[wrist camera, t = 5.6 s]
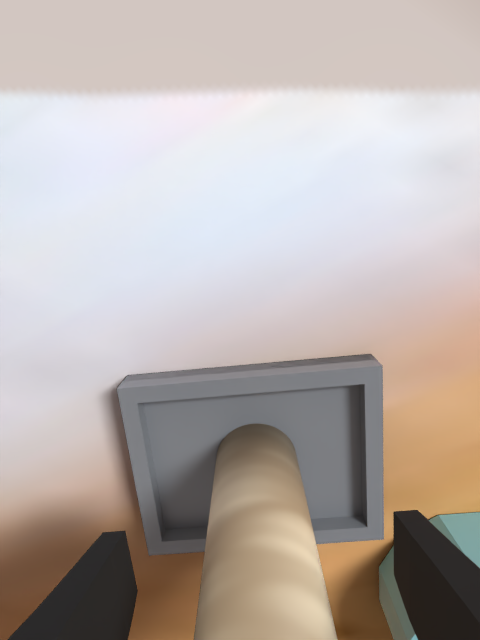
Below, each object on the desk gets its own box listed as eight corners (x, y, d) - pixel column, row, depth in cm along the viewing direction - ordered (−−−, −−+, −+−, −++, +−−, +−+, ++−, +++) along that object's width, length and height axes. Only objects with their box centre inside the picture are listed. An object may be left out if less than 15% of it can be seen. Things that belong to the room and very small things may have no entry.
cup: (543, 507, 15) (614, 574, 12) (529, 633, 17) (589, 718, 14) (378, 519, 15) (409, 587, 12) (379, 641, 17) (407, 727, 14)
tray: (370, 353, 14) (382, 365, 13) (373, 515, 15) (383, 539, 14) (127, 375, 14) (116, 388, 13) (156, 531, 16) (148, 555, 15)
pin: (292, 419, 14) (353, 672, 6) (299, 489, 14) (363, 797, 7) (211, 428, 14) (167, 686, 6) (222, 497, 15) (196, 807, 7)
